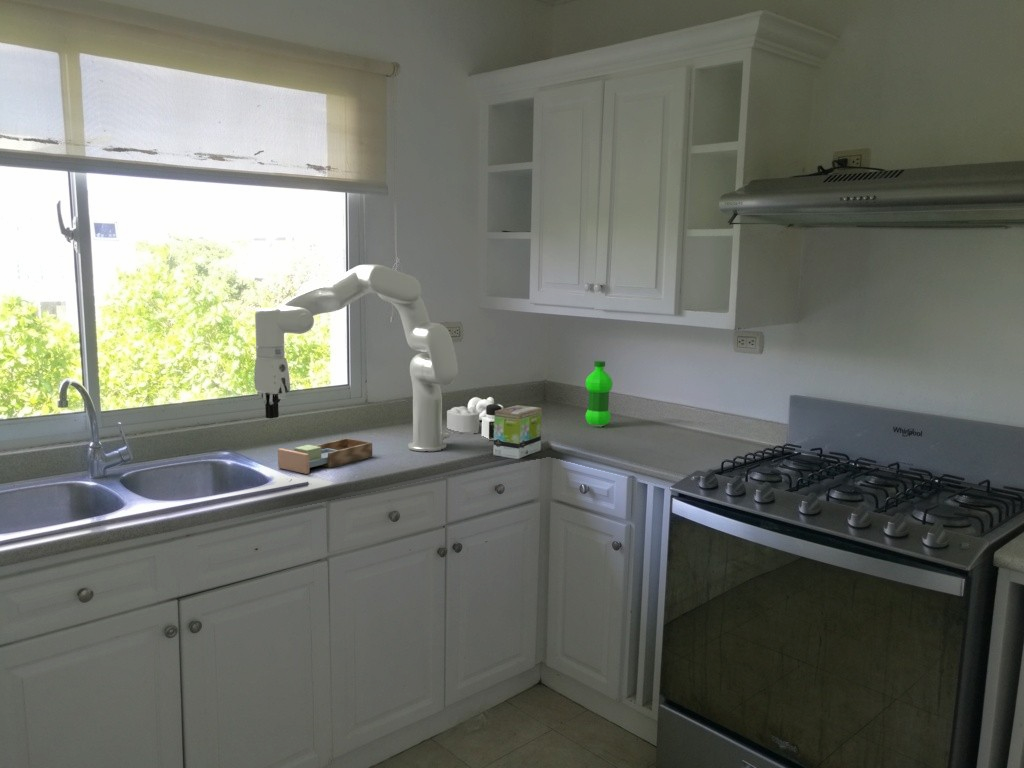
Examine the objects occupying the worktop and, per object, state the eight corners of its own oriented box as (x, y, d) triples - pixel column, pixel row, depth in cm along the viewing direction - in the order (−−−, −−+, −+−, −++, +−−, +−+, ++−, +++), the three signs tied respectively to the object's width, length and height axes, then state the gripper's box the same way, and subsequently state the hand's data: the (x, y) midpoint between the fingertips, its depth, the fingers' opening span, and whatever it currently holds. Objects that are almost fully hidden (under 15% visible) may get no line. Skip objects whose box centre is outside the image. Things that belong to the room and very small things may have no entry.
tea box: (519, 459, 249) (520, 413, 247) (492, 455, 254) (492, 410, 252) (541, 450, 262) (542, 406, 260) (515, 447, 267) (515, 403, 265)
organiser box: (346, 451, 256) (346, 438, 255) (372, 456, 250) (372, 442, 249) (304, 462, 241) (303, 448, 241) (329, 468, 235) (329, 453, 235)
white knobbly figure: (472, 424, 305) (472, 401, 303) (463, 418, 316) (463, 396, 314) (500, 422, 309) (500, 399, 307) (489, 416, 320) (490, 395, 318)
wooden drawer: (324, 456, 248) (323, 438, 248) (351, 461, 242) (351, 443, 241) (278, 467, 234) (277, 449, 233) (306, 473, 227) (305, 454, 226)
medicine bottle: (488, 441, 275) (489, 407, 273) (481, 436, 282) (481, 403, 280) (507, 439, 278) (508, 405, 276) (499, 435, 284) (500, 402, 283)
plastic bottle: (599, 422, 311) (601, 359, 307) (616, 427, 302) (618, 362, 299) (579, 424, 306) (580, 360, 302) (595, 429, 297) (597, 363, 293)
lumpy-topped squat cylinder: (467, 426, 300) (467, 404, 299) (485, 432, 289) (486, 409, 288) (443, 429, 294) (443, 406, 293) (461, 435, 283) (461, 411, 282)
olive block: (308, 457, 239) (308, 444, 238) (321, 460, 236) (321, 447, 235) (294, 461, 234) (294, 447, 234) (307, 463, 231) (307, 450, 231)
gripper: (299, 353, 219) (300, 418, 222) (263, 349, 227) (265, 412, 230) (277, 355, 213) (279, 422, 215) (241, 351, 221) (243, 416, 224)
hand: (272, 417), depth 223 cm, fingers closed
